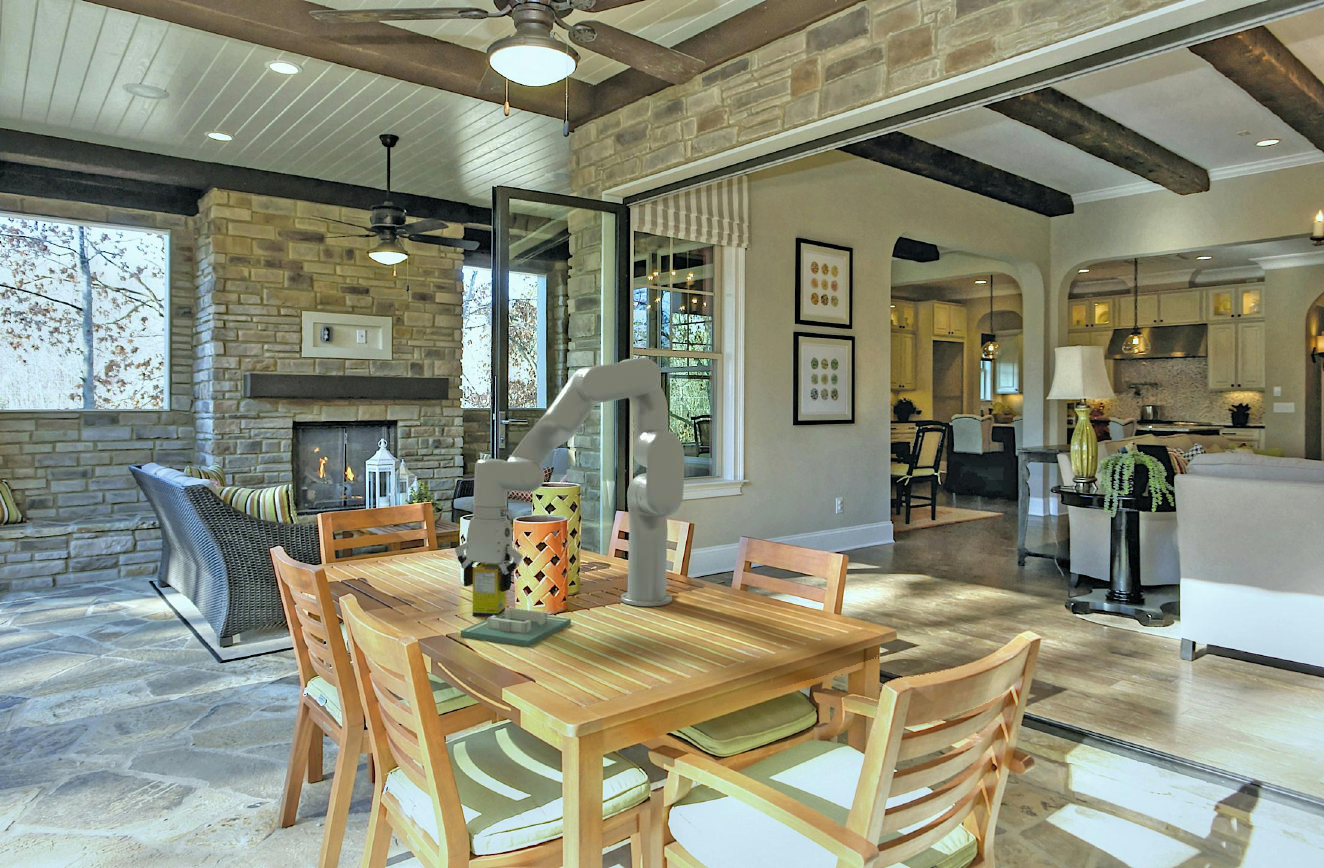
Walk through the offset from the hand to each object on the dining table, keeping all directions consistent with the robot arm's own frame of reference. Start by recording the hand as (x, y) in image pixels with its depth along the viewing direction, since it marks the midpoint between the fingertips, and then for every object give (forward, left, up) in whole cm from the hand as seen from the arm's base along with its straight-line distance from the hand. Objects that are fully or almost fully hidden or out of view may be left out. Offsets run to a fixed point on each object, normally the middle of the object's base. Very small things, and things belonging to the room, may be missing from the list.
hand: (486, 587), depth 183 cm
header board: (+9, +13, -6) cm, 17 cm away
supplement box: (0, 0, -6) cm, 6 cm away
